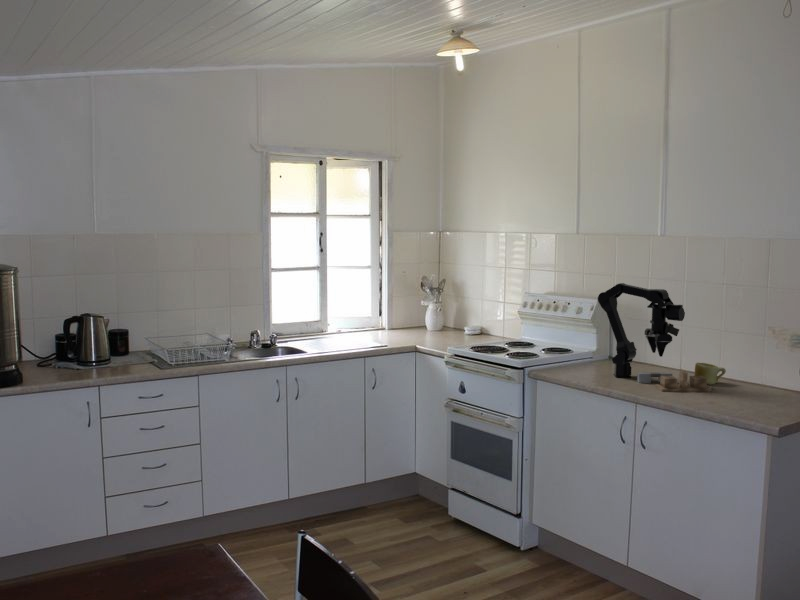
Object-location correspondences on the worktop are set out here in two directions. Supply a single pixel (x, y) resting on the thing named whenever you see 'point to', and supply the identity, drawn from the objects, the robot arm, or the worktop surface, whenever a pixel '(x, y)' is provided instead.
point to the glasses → (647, 376)
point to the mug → (709, 372)
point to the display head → (683, 383)
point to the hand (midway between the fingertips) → (657, 354)
